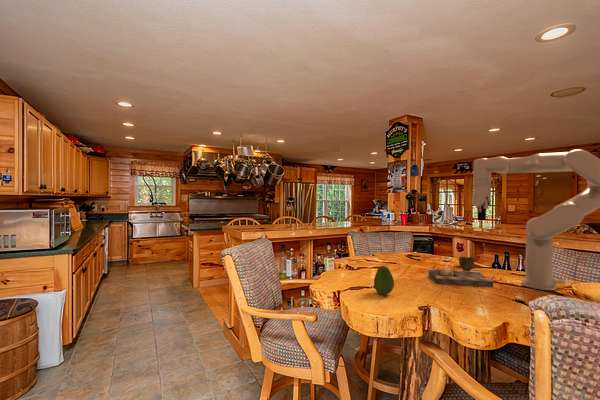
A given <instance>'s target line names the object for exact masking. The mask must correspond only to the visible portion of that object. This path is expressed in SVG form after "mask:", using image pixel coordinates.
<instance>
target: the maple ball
mask: <svg viewBox="0 0 600 400" xmlns="http://www.w3.org/2000/svg"><path fill="white" fill-rule="evenodd" d="M440 270H441V271H440V276H449V277H453V276H454V274H453V271H452V270H453V269H451V268H449V267H443V268H442V269H440Z"/></svg>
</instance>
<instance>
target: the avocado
mask: <svg viewBox="0 0 600 400" xmlns="http://www.w3.org/2000/svg"><path fill="white" fill-rule="evenodd" d="M376 270H377V271H376V273H375V276H374V279H373V286H374V289H375V291H376V292H377V293H378V295H381V296H386V295H389V294H391V292H392V291H393V289H394V288H395V287H394V286H395V280H394V277H393V275H392V273H391V271H390V269H389V268H388V267H387V266H385V265H381V266H379V267H378V268H377V269H376Z"/></svg>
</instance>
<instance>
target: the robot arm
mask: <svg viewBox="0 0 600 400" xmlns="http://www.w3.org/2000/svg"><path fill="white" fill-rule="evenodd" d="M492 172H493V173H497V174H521V173H522V174H524V173H525V174H527V173H532V174H536V173H554V172H555V173H556V172H557V173H561V172H562V173H563V172H564V173H565V172H575V173H576V174H577V175H578V176H581V177H582V178H583V179H585V180H586V184H587V185H586V188H585V189H584V190H583V191H582V192H580V193H578V194H576V195H575V196H573V197H572V198H569V199H568V200H566V201H564V202H562V203H560V204H559V203H558V204H557V205H556V206H554V207H553V208H552V209H551V210H549V211H547V212H545V213H544V214H543V213H542V215H539V216H535V217H532V218H530V219H528V221H527V222H526V225H525V277H524V279H523V280H521V281H520V283H521V285H522V286H525V287H527V288H529V289H530V288H531V289H535V290H541V291H556V290H557V289H558V286H557V285H565V284H566V281H565V279H558V278H555V277H553V273H554V271H553V269H554V267H553V263H554V261H553V259H554V258H553V257H554V237H557V236H558V235H560V234H562V233H564V232H566V231H569V230H570V229H572V228H574V227H576V226H578V225H579V224H580V223H582V221H583V220H584V218H585V217H586V216H588V215H590V214H592V213H594V212H595V211H597V210H598V209H600V158H599V157H598V156H596V155H595V154H592V153H590V151H587V150H585V149H579V148H578V149H573V150H570V151H563V152H562V151H561V152H546V153H545V152H544V153H541V152H540V153H536V154H532V155H529V156H522V157H512V158H511V157H510V158H508V157H506V156H496V157H489V158H488V157H487V158H486V157H481V158H480V157H479V158H477V159H475V160H473V185H472V186H473V190H472V202H471V204H472V205H473V206H475V208H476V211H477V212H476V213H477V220H478V221H486V220H487V209H489V206H491V202H492V196H491V195H492V194H491V191H492V190H491V186H492Z"/></svg>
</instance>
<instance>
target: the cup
mask: <svg viewBox="0 0 600 400" xmlns="http://www.w3.org/2000/svg"><path fill="white" fill-rule="evenodd" d="M458 261H459V267H460V269H462V271H473V269H474V266H475V261H476V259H475V258H473V257H471V256H469V257H468V256H458Z"/></svg>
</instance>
